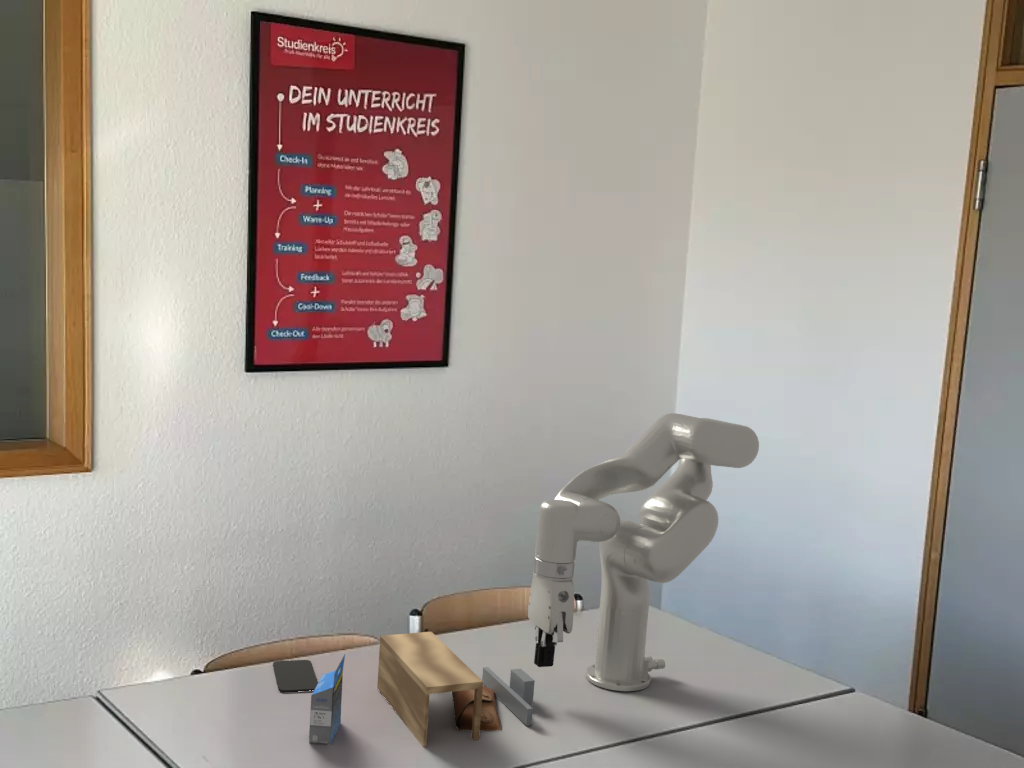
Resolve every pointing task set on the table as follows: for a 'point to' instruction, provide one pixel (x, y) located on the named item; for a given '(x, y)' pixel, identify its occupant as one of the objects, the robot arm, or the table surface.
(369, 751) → the table surface
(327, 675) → the blue cardboard box
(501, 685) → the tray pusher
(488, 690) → the sunglasses case
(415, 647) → the oak counter
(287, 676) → the phone
